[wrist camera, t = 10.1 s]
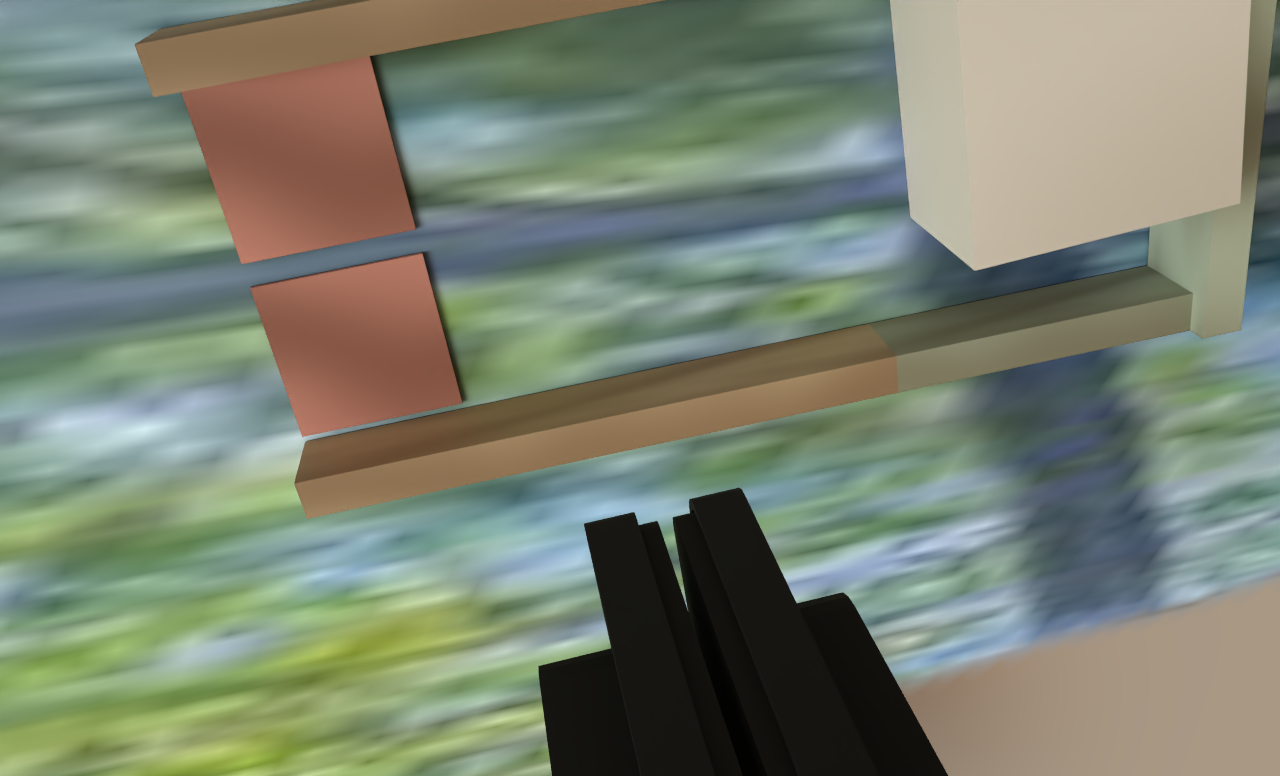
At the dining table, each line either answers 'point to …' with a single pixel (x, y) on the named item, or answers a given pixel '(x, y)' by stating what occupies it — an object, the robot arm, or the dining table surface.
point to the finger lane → (600, 410)
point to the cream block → (1067, 118)
